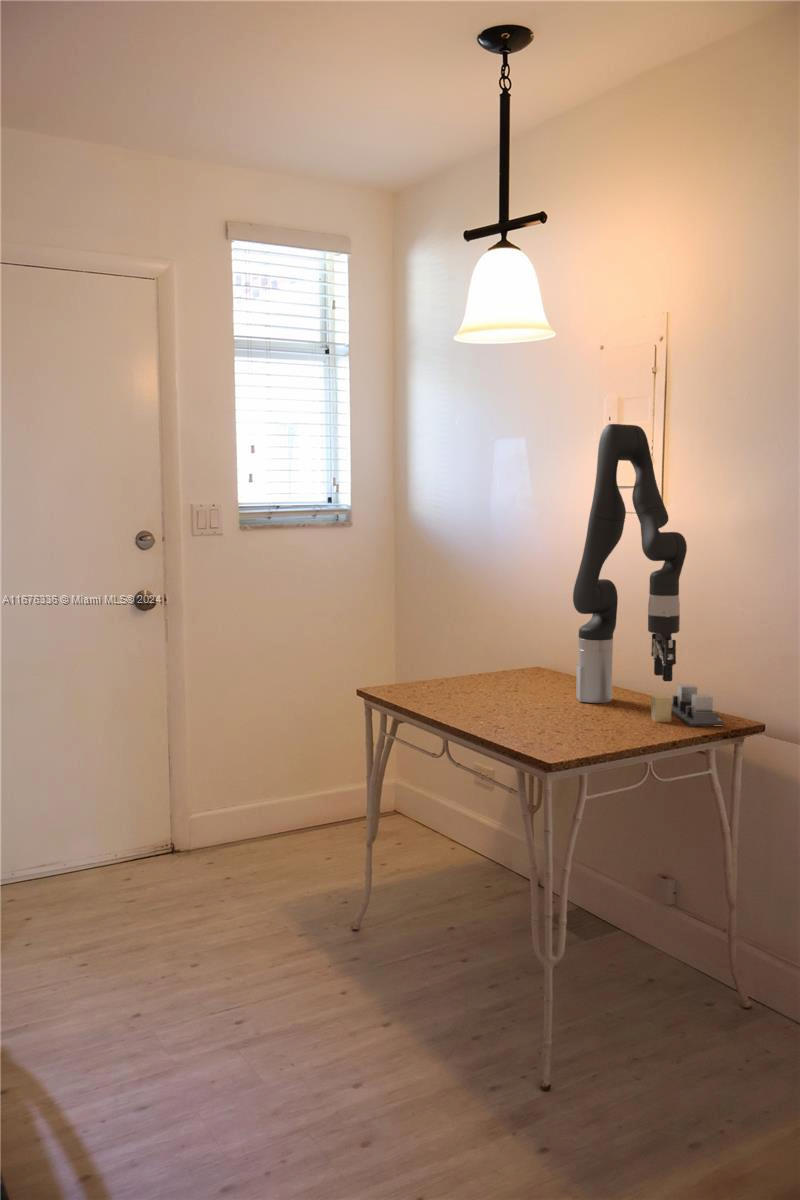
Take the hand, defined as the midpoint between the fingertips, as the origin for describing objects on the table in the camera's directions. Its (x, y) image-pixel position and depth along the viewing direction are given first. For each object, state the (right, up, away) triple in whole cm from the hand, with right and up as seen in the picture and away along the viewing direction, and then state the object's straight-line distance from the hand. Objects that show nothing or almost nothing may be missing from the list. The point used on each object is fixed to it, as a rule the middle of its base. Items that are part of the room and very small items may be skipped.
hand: (663, 678), depth 245 cm
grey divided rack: (+9, -10, +4) cm, 14 cm away
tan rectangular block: (0, -11, +1) cm, 11 cm away
